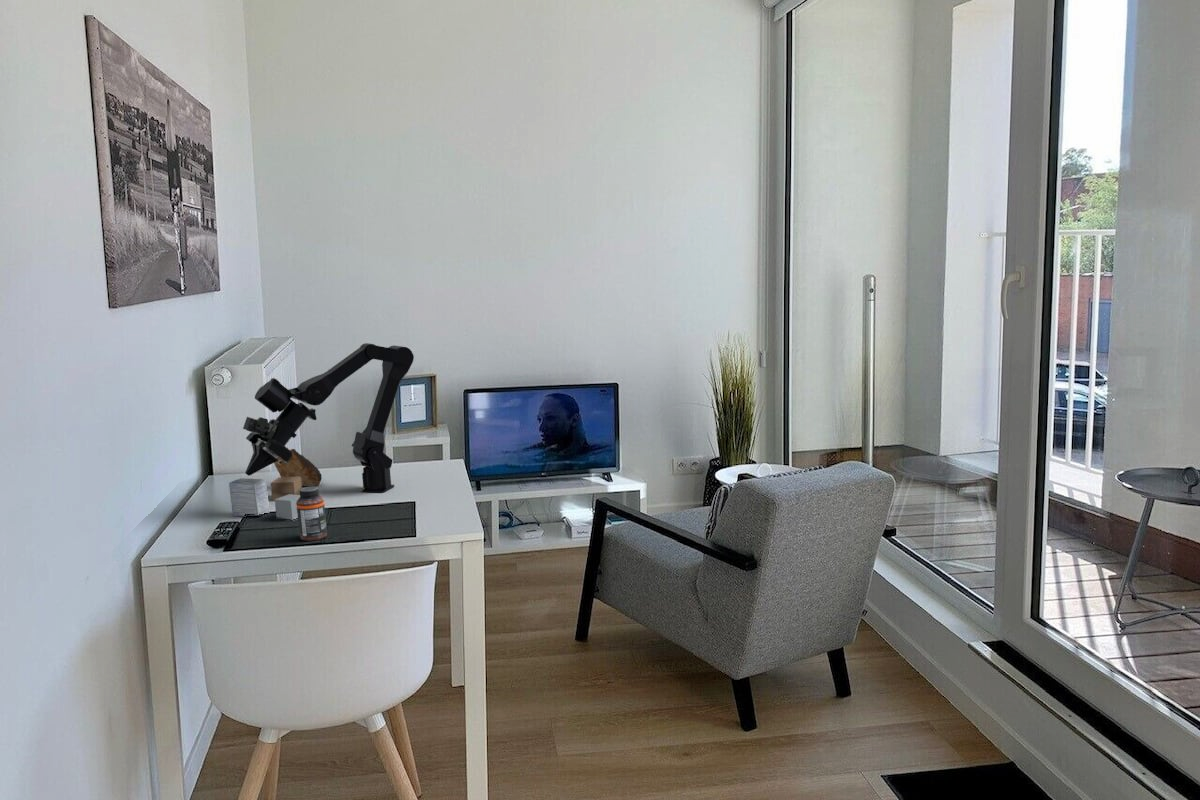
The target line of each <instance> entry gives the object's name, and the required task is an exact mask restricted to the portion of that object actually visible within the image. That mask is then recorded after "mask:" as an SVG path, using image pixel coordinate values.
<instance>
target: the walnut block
mask: <svg viewBox="0 0 1200 800" xmlns="http://www.w3.org/2000/svg"><path fill="white" fill-rule="evenodd" d="M302 488H303V486H302V483H301V476H300V477H281V476H280V477H279V476H278V477H276V478H275V479H273V480H272V481H271V482H270V491H271V492H270V493H271V500H272V502H275V499H277V498H280V497H283V496H286V495H288V494H293V495H300V489H302Z"/></svg>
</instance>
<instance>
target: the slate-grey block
mask: <svg viewBox="0 0 1200 800" xmlns="http://www.w3.org/2000/svg"><path fill="white" fill-rule="evenodd" d="M299 498H300V495H293V494H288V495H286V496H283V497H280V498H277V499H275V501H274V504H275V505H274V506H275V515H276V516H275V517H282V518H286V519H291V520H293V519H296V518H298V515H297V505H296V502H297V500H298V499H299ZM296 520H297V519H296ZM293 521H294V520H293Z"/></svg>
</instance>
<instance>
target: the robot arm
mask: <svg viewBox="0 0 1200 800" xmlns="http://www.w3.org/2000/svg"><path fill="white" fill-rule="evenodd" d="M414 357H415V356H414V353H413V352H412V350H411V349H410V348H408V347H406V346H402V345H391V346H388V347H385V346H380V345H376V344H375V343H368V342H367V343H366V342H365V343H362V344H361V345H360V346H359V347H358V348H357V349H356V350H354V351H353V352H352V353H350V354H348V355H347V356H346V357H345V358H343V359H342V360H340V361H339V362H337V363H336V364H335V365H334V366H332V367H331V368H329V369H328V370H327V371H325V372H324V373H321V374H318V375H315V376H312V377H311V378H308V379H306V380H305V381H302V382H301V383H300V384H299V385H298V386H296V387H293V388H290V389H288V388H287V387H285V386H284V385H283V384H282V383H281V382H280V381H279V380H278V379H277V378H275V377H272V378H270V380H269V381H267V382H265V383H264V384H263V385H262V386H260V387H259V389H258V390H257V391H256V392H255V394H254V400H256V401H257V402H259V403H260V404H261V405H262V406H264V407H265V408H266V409H268V411H270V412H272V413H277V412H279V415H278V416H277V417H276V418H275V419H274V418H273V419H270V420H269V419H268V418H264V417H258V418H257V419H255V418H254V417H249V416H246V419H245V422H244V425H243V428H242V429H243V430H245V431H248V432H250V433H249V434H248V435H247V436H246V438H245V439H246V440H247V441H248V442H250V443H251V446H252V447H251V448H252V452H253V453H252V455H251V458H250V461H249V463H248V465H247V467H246V470H245V474H246V475H247V476H252V475H254V474H256V473H258V472H259V471H261V470H263V469H265V468H266V467H268V466H270V465H272V464H274V463H275V462H278V461H279V460H278V459H276V458H277V457H278V456H279V457H280V458H282V460H283V461H285V462H287V463H288V462H289V461H290V459H291V458H292V451H290V450H291V449H289V448H288V447H287V446H286V445H287V444H288V443H289V441H290V440H291V439H292V438H293V439H295V438H296V437H297V431H298V430H299V429H300V427H301V426H302V424H304V423H305V421H306V420H307V419H310V420H312V421H316V420H317V419H318V418H317V413H316V409H314V408H309V407H307V406H306V405H310V406H320V405H321V404H323V403H324V402H325V401H326V400H327V399H328V398H329V397H330V396H331V395H332V393H333V392H334V390H335V389H336V387H338V385H340V384H341V383H342V382H343V381H345V380H346V379H348V378H349V377H351V376H352V375H353V374H354V373H356V372H357V371H359V370H360V369H362V368H363V367H364V366H365V365H367V364H369V362H370V361H372V360H377V361H381V362H382V364H381V367H382V378H381V381H380V384H379V388H378V391H377V394H376V397H375V401H374V403H373V406H372V409H371V413H370V414H369V415H370V416H369V418H368V421H367V425H366V427H365V429H363V431H362V432H360V431H356V433H355V437H354V441H353V443H352V444H351V447H353V449H352V454H353V456H354V458H355V459H356V460H358V461H359V462H360V464H361V466H363V468H362V469H363V470H362V473H361V475H362V476H361V477H362V478H361V479H362V488H363V489H361V492H362V493H364V492H365V493H385V492H387V491H389V490H391V489H392V488H394V487H395V484H392V479H391V468H392V464H393V460H394V459H392V458H390V456H389V455H387V454H386V453H384V450H385V445H386V444H385V429H386V426H387V423H388V420H389V418H390V417H389V416H390V414H391V410H392V408H393V405H394V402H395V398H396V395H397V393H398V389H399V387H400V383H401V381H402V380H403V378H405V376H406V375H407V373H409V370H410V369H411V366H412V365H413V362H414V359H415V358H414ZM292 399H294V400H297V401H300V402H299V403H296V402H295V401H293V400H292ZM305 404H306V405H305ZM280 412H281V413H280ZM268 420H269V421H268Z"/></svg>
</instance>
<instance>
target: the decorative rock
mask: <svg viewBox="0 0 1200 800" xmlns="http://www.w3.org/2000/svg"><path fill="white" fill-rule="evenodd" d="M289 450H290V451H292V458H291V459H290V461H289V462H288V463H287V462H285V461H283V460H282V458H280V457H279V456H278V457H277V458H276V459H278V460H279V461H278V462H275V463H273V464H274V467H275V468H276V470H277V472H278V473H279V476H280V477H300V476H301V483H302V487H318V486H319V485H320V483H321V481H322V476H323V475H322V473H321V472H320V470H319V468H318V467H317V466H315V464H314V463H312V461H311V460H309V459H308V458H306V457H305V456H304V455H303V454H300V453H299V452H298V451H297V450H296V449H295V448H291V449H289Z"/></svg>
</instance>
